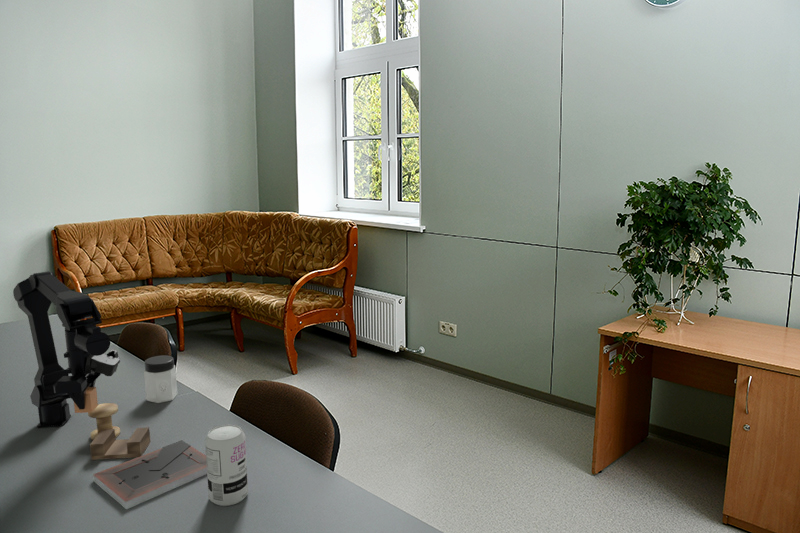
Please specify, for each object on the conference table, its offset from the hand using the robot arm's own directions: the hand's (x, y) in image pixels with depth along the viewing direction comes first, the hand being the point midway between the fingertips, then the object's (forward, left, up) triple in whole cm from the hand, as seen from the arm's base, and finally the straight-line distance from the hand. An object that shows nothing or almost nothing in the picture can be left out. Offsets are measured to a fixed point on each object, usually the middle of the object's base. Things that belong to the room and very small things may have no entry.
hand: (85, 405), depth 152 cm
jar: (+10, +29, -11) cm, 32 cm away
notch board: (+9, -4, -11) cm, 15 cm away
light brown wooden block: (0, 0, -1) cm, 1 cm away
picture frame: (+21, -17, -11) cm, 30 cm away
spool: (+2, +5, -11) cm, 12 cm away
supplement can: (+39, -28, -11) cm, 50 cm away
